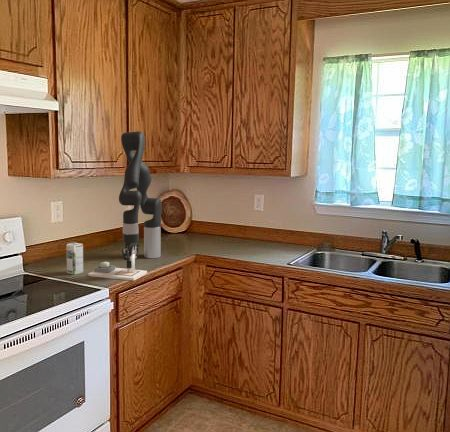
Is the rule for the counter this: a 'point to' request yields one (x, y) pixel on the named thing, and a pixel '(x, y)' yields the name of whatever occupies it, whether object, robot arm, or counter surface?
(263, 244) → the counter surface
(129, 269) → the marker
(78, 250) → the syrup box
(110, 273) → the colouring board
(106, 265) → the button
